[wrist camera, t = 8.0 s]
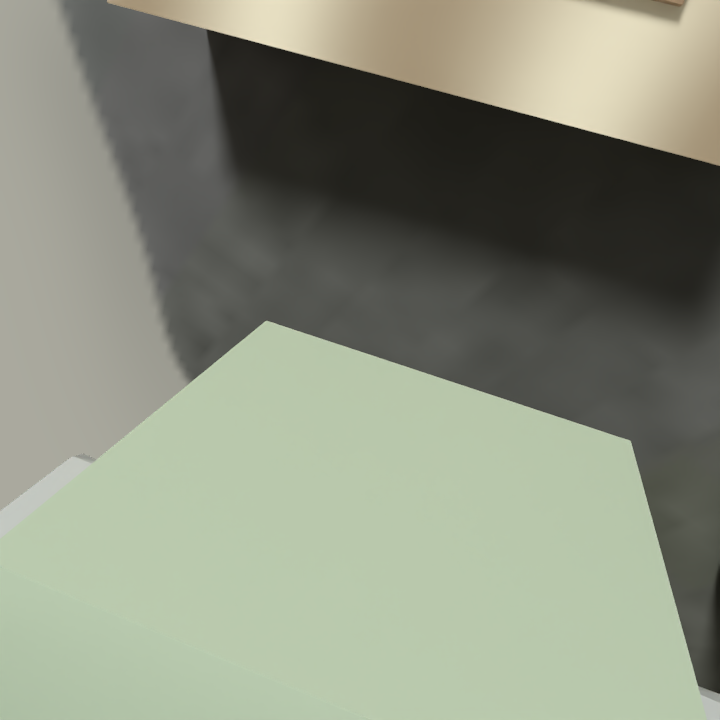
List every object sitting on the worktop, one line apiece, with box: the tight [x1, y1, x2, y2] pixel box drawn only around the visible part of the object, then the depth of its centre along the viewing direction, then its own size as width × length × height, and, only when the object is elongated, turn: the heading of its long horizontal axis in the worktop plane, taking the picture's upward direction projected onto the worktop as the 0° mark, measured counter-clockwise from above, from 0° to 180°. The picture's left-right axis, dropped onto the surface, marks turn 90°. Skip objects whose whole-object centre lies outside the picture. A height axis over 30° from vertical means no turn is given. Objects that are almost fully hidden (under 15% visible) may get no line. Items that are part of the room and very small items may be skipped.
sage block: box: [0, 321, 707, 720], centre depth 7 cm, size 5×5×5 cm
